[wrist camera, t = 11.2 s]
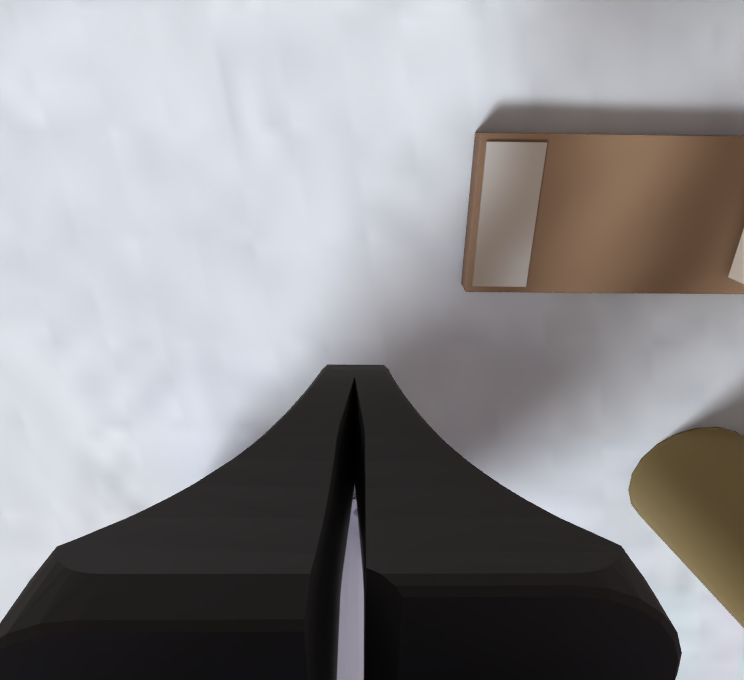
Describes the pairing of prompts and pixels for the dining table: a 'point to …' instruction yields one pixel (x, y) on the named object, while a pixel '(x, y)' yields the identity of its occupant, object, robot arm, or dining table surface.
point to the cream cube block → (738, 263)
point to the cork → (698, 506)
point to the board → (604, 213)
